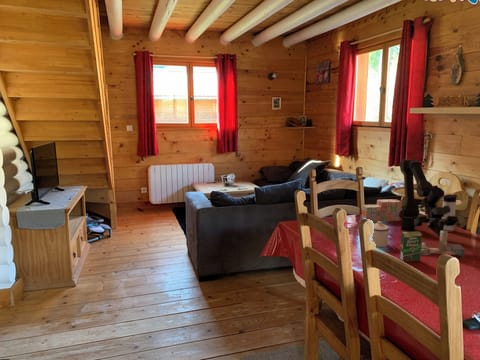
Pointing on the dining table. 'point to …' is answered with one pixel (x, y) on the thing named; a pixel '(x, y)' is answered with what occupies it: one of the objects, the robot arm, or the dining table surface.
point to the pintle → (424, 248)
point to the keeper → (457, 249)
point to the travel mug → (451, 202)
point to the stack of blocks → (382, 211)
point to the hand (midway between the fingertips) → (441, 237)
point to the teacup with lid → (380, 234)
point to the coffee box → (410, 246)
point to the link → (440, 246)
